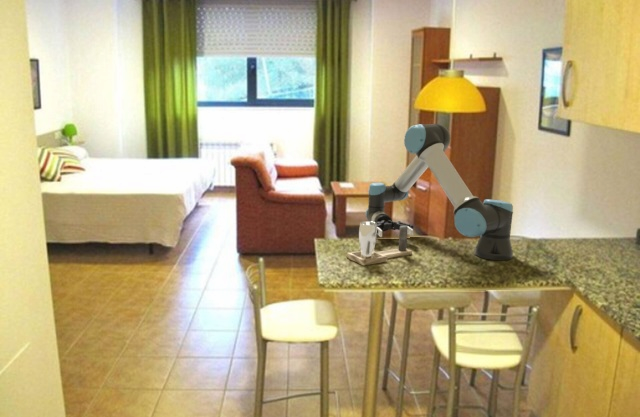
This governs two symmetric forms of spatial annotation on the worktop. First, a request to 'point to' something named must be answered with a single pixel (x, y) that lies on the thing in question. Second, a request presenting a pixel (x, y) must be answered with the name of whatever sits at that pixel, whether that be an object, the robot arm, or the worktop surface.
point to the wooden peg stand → (386, 254)
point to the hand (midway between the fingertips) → (396, 233)
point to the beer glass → (367, 239)
